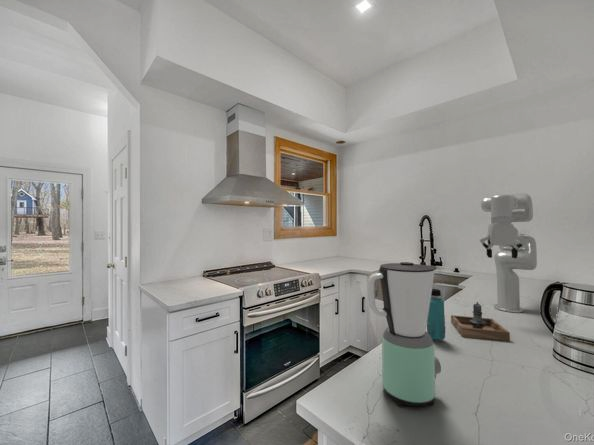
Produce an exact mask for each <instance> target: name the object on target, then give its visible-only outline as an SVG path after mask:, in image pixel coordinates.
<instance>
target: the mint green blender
mask: <svg viewBox="0 0 594 445" xmlns="http://www.w3.org/2000/svg"><path fill="white" fill-rule="evenodd" d="M437 268H438V266H436V265H429V264H420V263H419V264H416V263H414V262H409V261H408V262H407V261H404V262H403V261H401V262H399V263H397V262H395V263H393V262H392V263H383V264H380V266H379V271H378V272H375V273H372V274H370V275H369V277H368V280H367V302H368V307H369V309H370V311H371V312H373V314H375V315H376V316H380V317H385V319H386V322H387V327H386V329H384V331H383V333H382V340H381V342H382V344H381V350H382V351H381V353H382V354H381V355H382V356H381V358H382V360H381V363H382V364H381V370H382V371H381V372H382V373H381V375H382V378H381V381H382V382H381V385H382V388H383V391H385V393H386V394H387V395H388V396H390V398H392V399H393V400H394V401H396V406H397V407H399V408H405V406H406V405H407V406H412V407H424V406H427V405H428V406H431V407H432V406H434V405H435V397H436V393H437V392H436V379H437V374H440V373H441V372H442V365H441V362H440V359H438V357H437V356H436V352H435V344H434V339H433V338H431V336H430V335H429V334H428V333H427V319H428V313H429V306H430V300H431V297H432V295H431V293H432V289H433V285H434V277H435V273H436V270H437ZM376 280H379V281H380V286H381V287H380V288H381V294H382V301H383V307H382V309H380V308H378V307H377V305H376V296H375V294H376V293H375V282H376Z"/></svg>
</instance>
